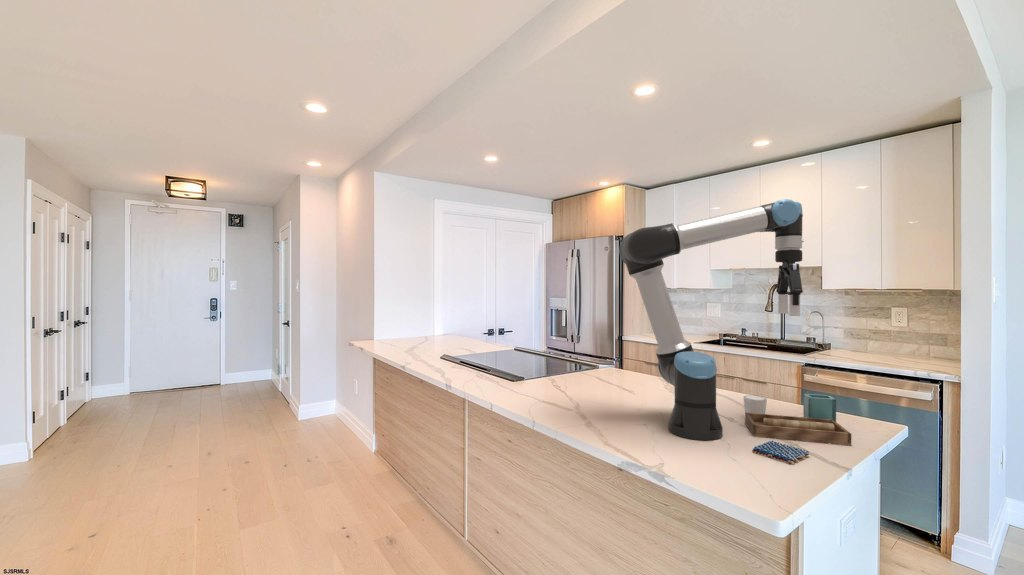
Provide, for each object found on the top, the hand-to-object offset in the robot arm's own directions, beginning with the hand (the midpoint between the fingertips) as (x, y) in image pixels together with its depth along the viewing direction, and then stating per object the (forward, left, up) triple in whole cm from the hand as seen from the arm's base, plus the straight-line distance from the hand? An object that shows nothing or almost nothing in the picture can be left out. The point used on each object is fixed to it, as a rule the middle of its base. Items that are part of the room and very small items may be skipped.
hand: (788, 314), depth 144 cm
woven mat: (-10, -34, -35) cm, 50 cm away
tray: (-2, -14, -35) cm, 37 cm away
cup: (+8, -2, -35) cm, 36 cm away
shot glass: (-10, -1, -35) cm, 36 cm away
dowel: (-1, -12, -33) cm, 35 cm away
